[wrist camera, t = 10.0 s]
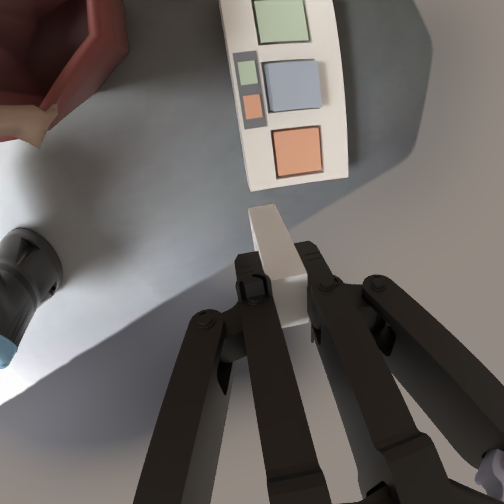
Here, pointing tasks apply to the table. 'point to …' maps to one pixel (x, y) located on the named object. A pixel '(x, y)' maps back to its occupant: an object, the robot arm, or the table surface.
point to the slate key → (293, 85)
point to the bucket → (54, 60)
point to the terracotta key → (296, 150)
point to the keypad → (263, 119)
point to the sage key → (280, 21)
